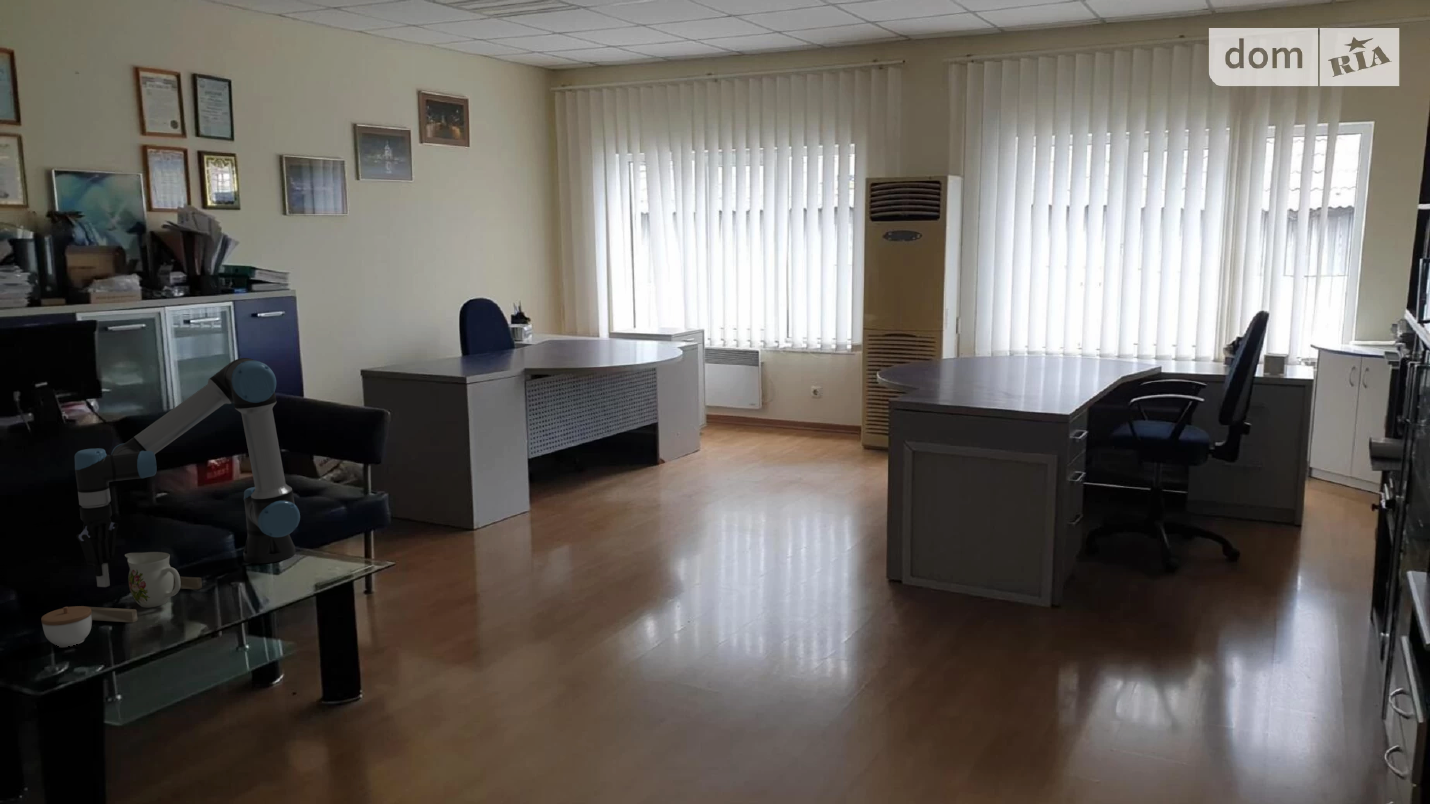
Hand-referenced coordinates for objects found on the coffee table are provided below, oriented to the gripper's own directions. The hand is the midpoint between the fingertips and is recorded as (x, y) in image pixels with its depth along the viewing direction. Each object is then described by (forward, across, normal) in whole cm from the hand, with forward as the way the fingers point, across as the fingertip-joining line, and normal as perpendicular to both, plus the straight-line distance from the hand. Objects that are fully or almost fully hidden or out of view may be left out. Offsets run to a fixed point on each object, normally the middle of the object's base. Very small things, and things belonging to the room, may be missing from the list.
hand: (103, 585), depth 285 cm
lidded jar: (+5, +28, +14) cm, 32 cm away
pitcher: (+5, 0, +16) cm, 17 cm away
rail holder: (+4, 0, +13) cm, 14 cm away
